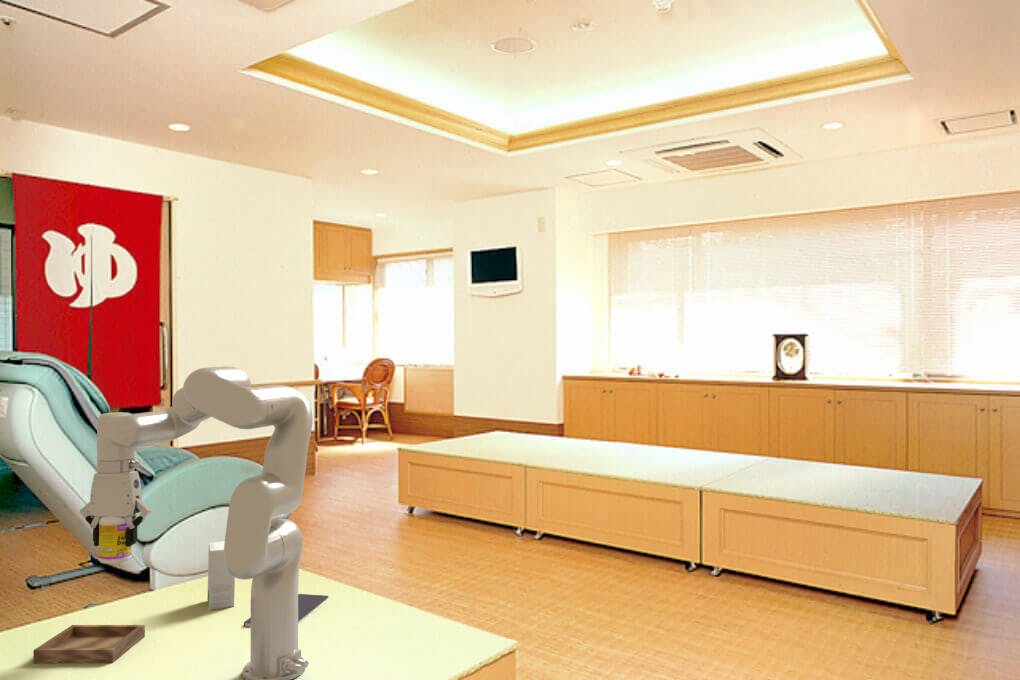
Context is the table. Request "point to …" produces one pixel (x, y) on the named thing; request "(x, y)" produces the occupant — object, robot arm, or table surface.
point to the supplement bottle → (113, 540)
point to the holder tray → (90, 644)
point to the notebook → (303, 606)
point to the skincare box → (219, 579)
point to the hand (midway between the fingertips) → (115, 544)
